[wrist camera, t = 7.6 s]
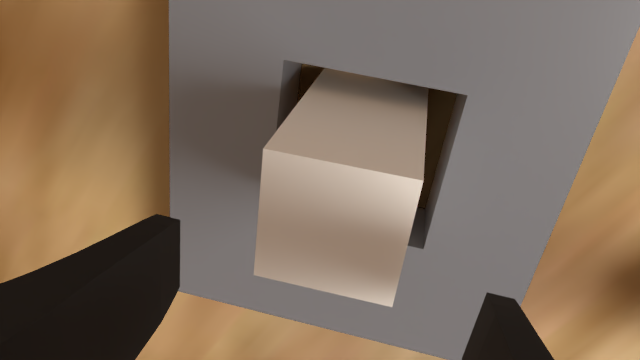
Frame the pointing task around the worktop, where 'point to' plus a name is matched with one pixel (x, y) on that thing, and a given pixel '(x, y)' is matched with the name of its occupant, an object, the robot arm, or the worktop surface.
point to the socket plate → (455, 158)
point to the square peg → (343, 186)
